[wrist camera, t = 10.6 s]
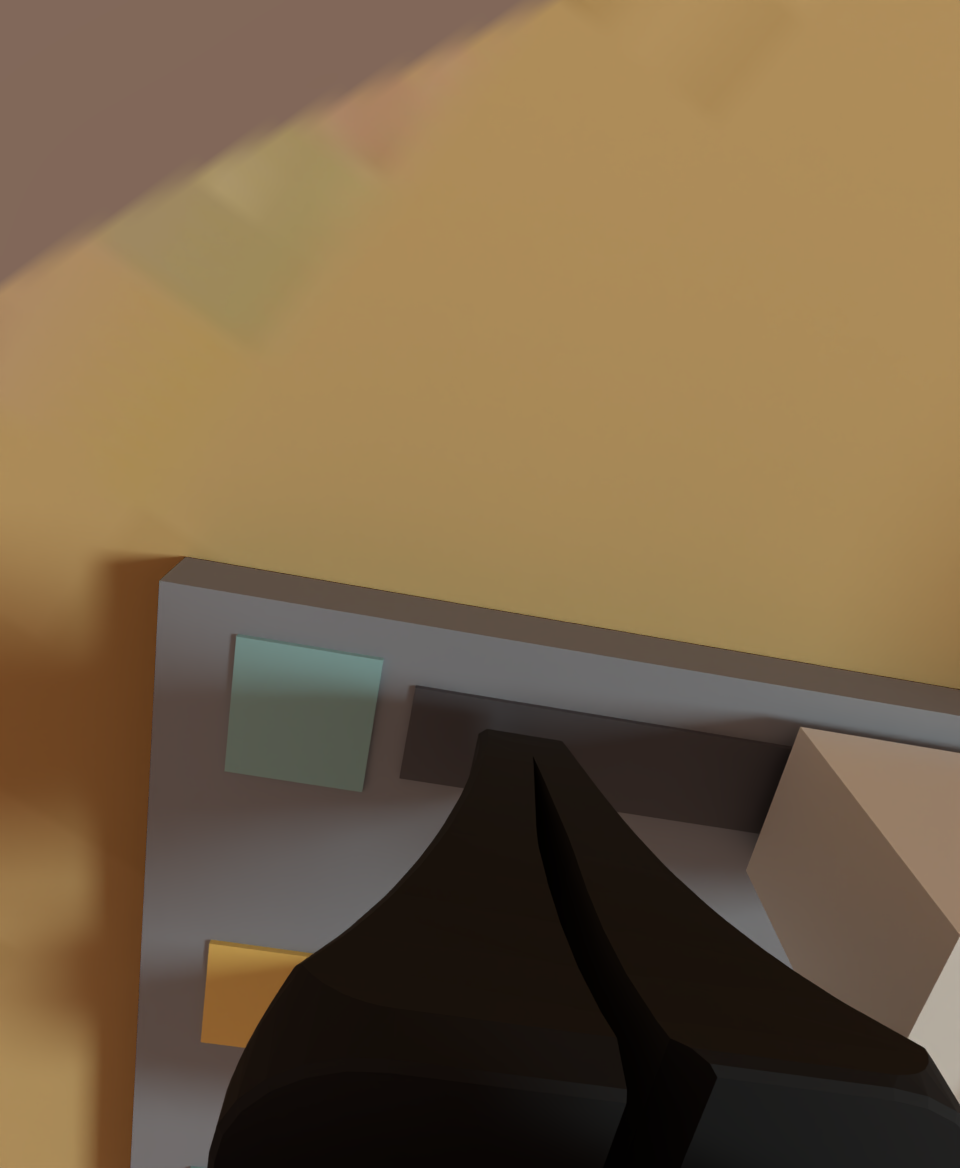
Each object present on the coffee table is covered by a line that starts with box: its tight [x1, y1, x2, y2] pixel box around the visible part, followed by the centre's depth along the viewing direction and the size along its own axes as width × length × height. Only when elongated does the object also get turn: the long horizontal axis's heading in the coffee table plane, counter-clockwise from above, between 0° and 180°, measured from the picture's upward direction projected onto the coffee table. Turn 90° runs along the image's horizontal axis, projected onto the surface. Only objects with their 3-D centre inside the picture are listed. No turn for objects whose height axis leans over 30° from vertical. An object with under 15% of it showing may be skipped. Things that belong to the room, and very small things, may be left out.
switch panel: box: [130, 557, 960, 1168], centre depth 16 cm, size 18×16×1 cm
